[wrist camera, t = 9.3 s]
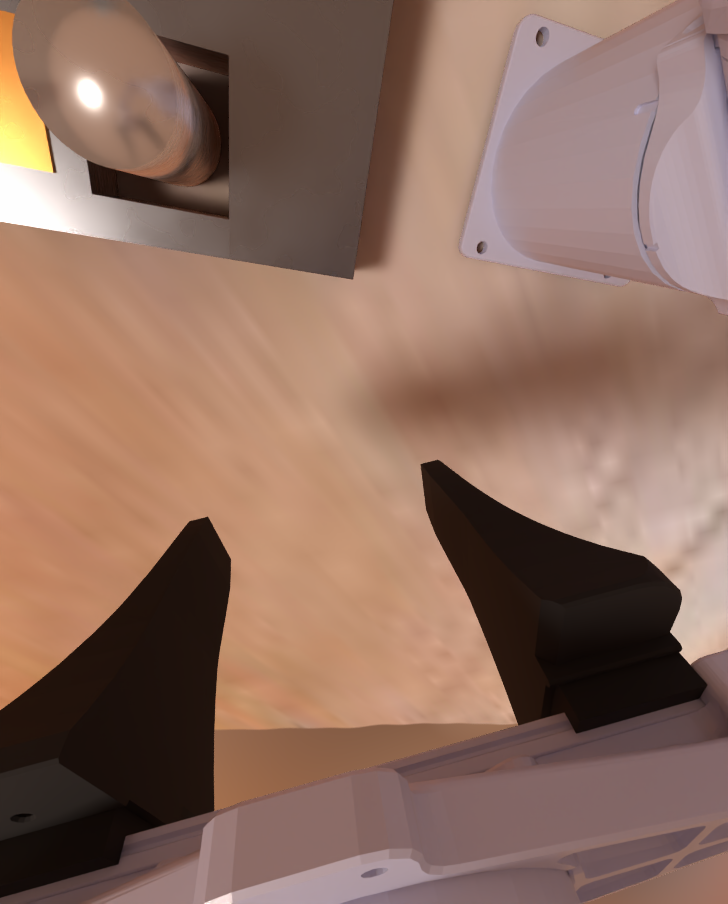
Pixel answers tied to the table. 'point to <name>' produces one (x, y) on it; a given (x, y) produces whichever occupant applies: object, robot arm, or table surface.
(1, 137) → the plate
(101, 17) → the steel peg
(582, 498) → the table surface
